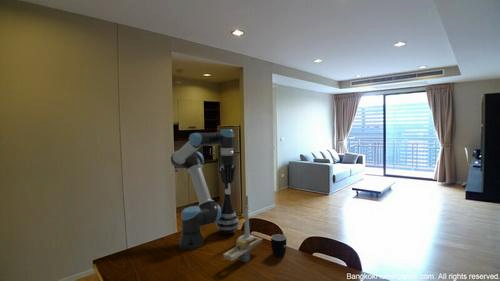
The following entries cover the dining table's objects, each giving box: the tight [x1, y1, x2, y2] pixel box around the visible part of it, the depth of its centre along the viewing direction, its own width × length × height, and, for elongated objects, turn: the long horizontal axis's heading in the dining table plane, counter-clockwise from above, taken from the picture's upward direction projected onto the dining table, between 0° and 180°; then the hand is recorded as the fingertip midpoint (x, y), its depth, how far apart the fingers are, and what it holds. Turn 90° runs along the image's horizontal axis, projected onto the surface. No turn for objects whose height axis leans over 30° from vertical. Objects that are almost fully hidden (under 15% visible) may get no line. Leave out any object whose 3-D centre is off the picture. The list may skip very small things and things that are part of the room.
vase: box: [215, 191, 240, 235], centre depth 184 cm, size 16×16×30 cm
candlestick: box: [236, 195, 255, 241], centre depth 171 cm, size 13×13×30 cm
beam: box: [222, 235, 264, 264], centre depth 145 cm, size 6×28×8 cm, turn 143°
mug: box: [270, 233, 287, 258], centre depth 152 cm, size 12×9×10 cm
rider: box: [235, 238, 250, 249], centre depth 144 cm, size 6×5×5 cm
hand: (227, 193), depth 156 cm, fingers closed
